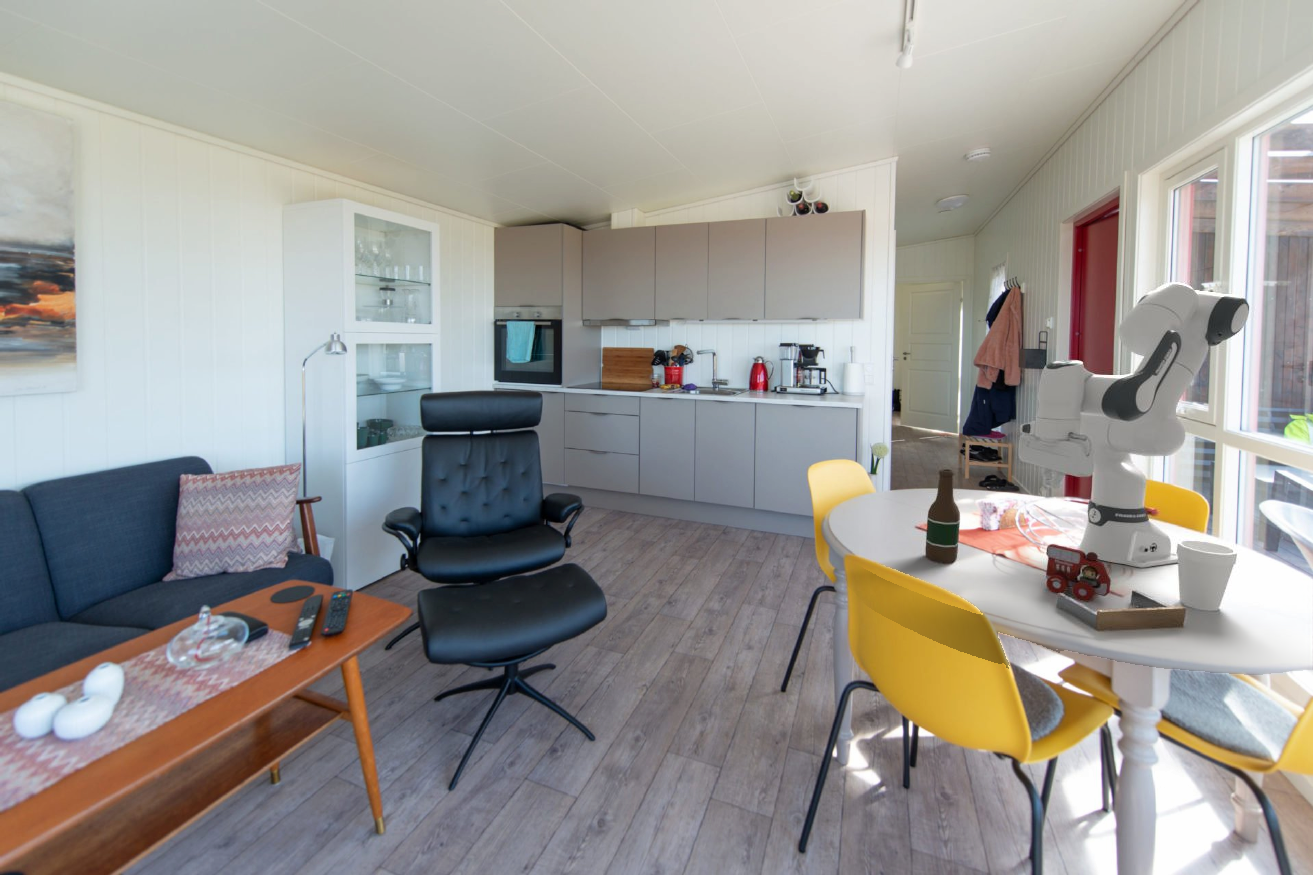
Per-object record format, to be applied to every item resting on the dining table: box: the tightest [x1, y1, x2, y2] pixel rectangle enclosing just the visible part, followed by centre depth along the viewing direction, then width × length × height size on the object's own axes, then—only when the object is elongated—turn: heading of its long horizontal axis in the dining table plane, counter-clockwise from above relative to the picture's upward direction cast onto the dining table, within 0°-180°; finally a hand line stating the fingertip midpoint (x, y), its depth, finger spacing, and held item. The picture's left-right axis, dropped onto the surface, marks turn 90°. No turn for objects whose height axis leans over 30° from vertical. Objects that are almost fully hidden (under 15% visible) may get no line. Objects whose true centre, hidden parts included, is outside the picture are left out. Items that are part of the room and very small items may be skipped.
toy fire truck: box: [1045, 543, 1112, 602], centre depth 134 cm, size 7×12×10 cm, turn 38°
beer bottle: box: [925, 468, 961, 564], centre depth 155 cm, size 8×8×24 cm
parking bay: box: [1056, 589, 1187, 632], centre depth 123 cm, size 18×11×4 cm, turn 94°
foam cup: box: [1175, 539, 1238, 612], centre depth 127 cm, size 10×9×13 cm
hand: (1051, 487), depth 141 cm, fingers closed
